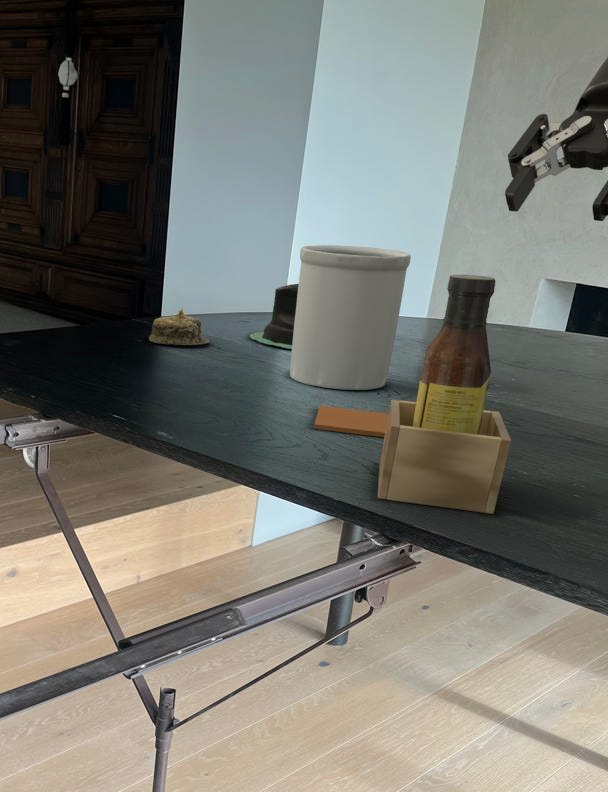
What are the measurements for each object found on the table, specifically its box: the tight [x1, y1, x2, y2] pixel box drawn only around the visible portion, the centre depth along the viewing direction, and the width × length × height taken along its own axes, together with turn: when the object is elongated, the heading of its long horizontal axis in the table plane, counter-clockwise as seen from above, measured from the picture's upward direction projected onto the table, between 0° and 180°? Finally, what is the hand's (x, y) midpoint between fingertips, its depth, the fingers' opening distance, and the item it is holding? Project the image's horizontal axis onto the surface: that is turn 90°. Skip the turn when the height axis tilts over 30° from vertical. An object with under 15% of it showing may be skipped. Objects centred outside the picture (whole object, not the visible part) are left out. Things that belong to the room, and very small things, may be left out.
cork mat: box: [313, 405, 389, 438], centre depth 119 cm, size 10×10×1 cm
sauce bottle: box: [412, 274, 496, 435], centre depth 93 cm, size 7×6×20 cm
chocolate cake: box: [249, 283, 299, 350], centre depth 167 cm, size 15×19×20 cm
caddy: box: [377, 398, 512, 515], centre depth 96 cm, size 11×12×7 cm
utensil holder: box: [289, 244, 412, 391], centre depth 138 cm, size 15×15×18 cm
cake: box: [148, 308, 211, 346], centre depth 160 cm, size 10×10×5 cm
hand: (552, 209), depth 94 cm, fingers open, 8 cm apart
